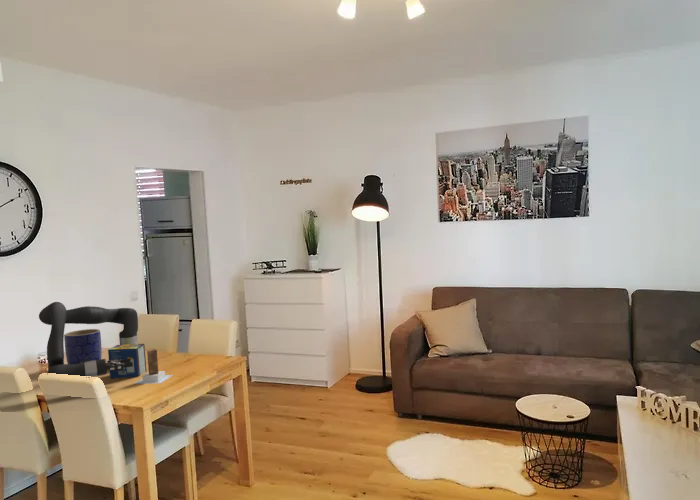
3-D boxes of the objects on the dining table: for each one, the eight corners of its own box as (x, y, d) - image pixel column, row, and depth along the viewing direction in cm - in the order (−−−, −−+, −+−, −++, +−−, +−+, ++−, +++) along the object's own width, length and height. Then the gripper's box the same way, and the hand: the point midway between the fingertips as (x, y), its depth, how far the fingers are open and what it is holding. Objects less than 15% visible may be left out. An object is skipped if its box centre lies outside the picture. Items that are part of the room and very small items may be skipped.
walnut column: (150, 375, 262) (148, 351, 261) (148, 373, 265) (147, 350, 265) (158, 373, 264) (156, 350, 263) (157, 371, 267) (155, 348, 267)
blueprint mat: (134, 384, 258) (134, 383, 258) (147, 376, 272) (147, 375, 272) (161, 383, 257) (161, 383, 257) (173, 375, 271) (173, 374, 271)
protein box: (119, 373, 282) (116, 344, 281) (147, 371, 281) (144, 343, 281) (109, 378, 272) (107, 349, 271) (138, 377, 271) (136, 348, 270)
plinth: (142, 381, 261) (142, 375, 261) (150, 377, 269) (149, 371, 269) (158, 381, 260) (157, 375, 260) (165, 376, 268) (164, 371, 268)
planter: (59, 371, 291) (56, 335, 290) (86, 363, 308) (83, 328, 307) (84, 373, 285) (81, 336, 284) (110, 364, 302) (107, 329, 301)
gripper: (96, 363, 245) (133, 357, 253) (93, 357, 257) (129, 352, 265) (97, 379, 245) (134, 372, 253) (95, 372, 258) (130, 366, 266)
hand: (131, 362), depth 259 cm, fingers open, 8 cm apart
